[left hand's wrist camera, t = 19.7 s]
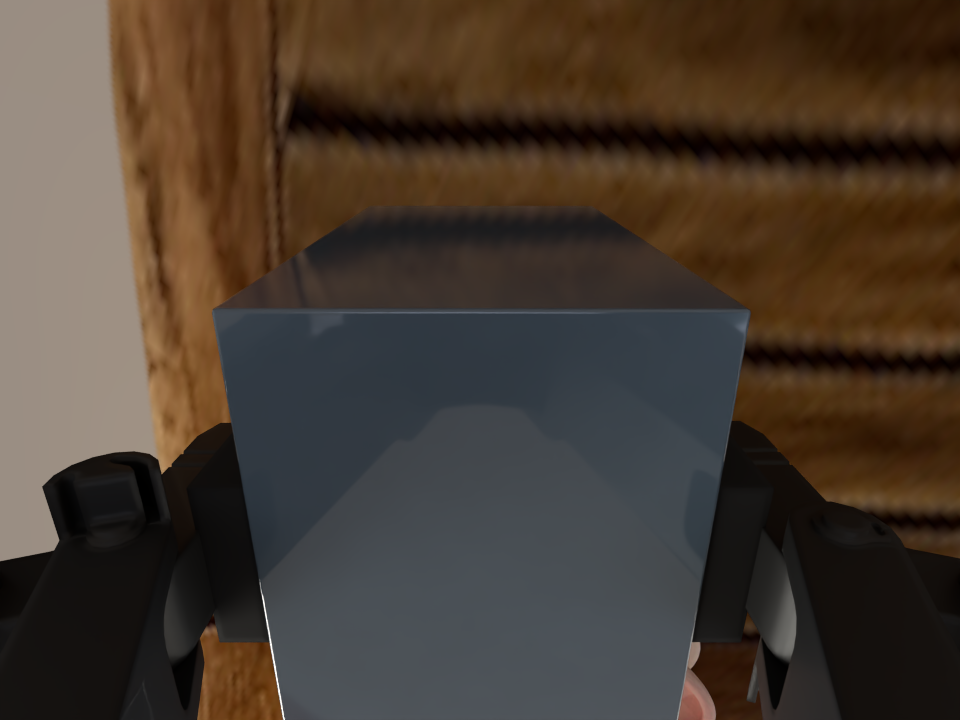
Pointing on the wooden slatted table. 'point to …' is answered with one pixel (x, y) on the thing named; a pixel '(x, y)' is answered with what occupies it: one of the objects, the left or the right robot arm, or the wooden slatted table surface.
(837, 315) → the wooden slatted table surface
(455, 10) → the wooden slatted table surface
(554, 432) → the brick
